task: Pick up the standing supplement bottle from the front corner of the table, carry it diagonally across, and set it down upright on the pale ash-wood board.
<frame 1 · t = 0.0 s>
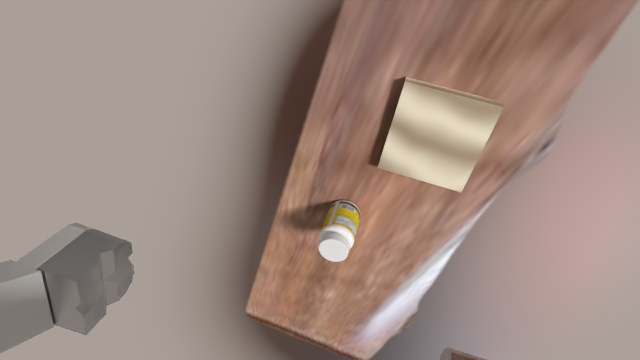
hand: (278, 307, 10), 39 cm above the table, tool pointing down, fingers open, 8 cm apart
ash board: (435, 134, 47), on the table
supplement bottle: (345, 211, 58), on the table
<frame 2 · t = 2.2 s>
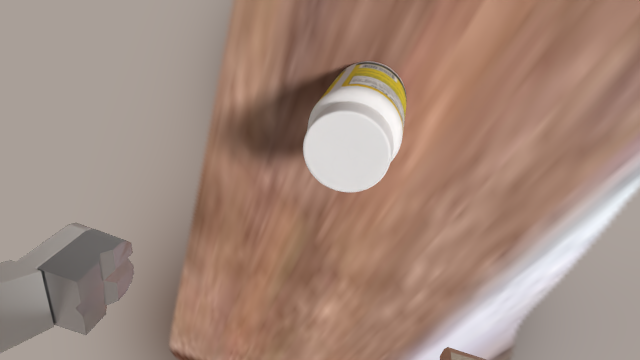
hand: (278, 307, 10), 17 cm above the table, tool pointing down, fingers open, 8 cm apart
supplement bottle: (368, 97, 24), on the table
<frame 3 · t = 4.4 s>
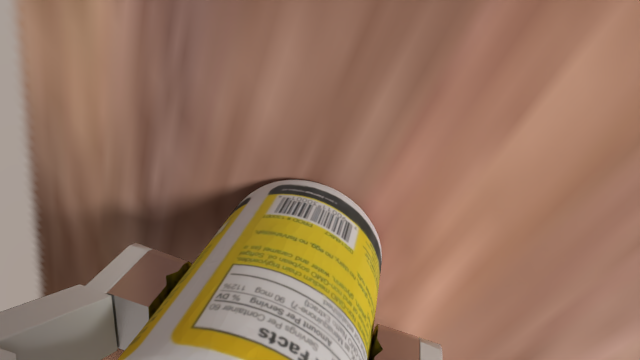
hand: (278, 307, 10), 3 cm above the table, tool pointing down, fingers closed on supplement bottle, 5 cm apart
supplement bottle: (308, 239, 12), on the table, touching gripper
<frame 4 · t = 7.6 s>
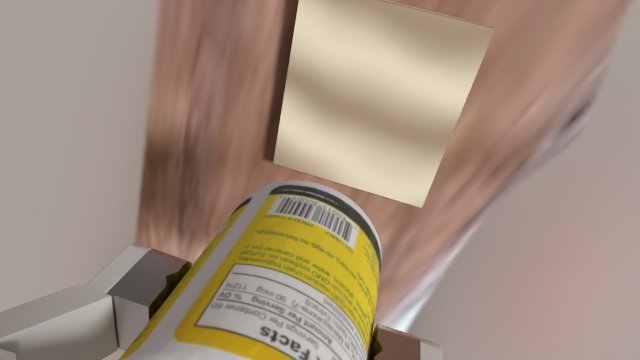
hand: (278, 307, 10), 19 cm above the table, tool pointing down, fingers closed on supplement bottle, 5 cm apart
ash board: (370, 99, 26), on the table
supplement bottle: (308, 239, 12), point 16 cm above the table, touching gripper
when the fingers open (6 cm above the table, at t = 10.7 s): supplement bottle drops 2 cm, resting on ash board.
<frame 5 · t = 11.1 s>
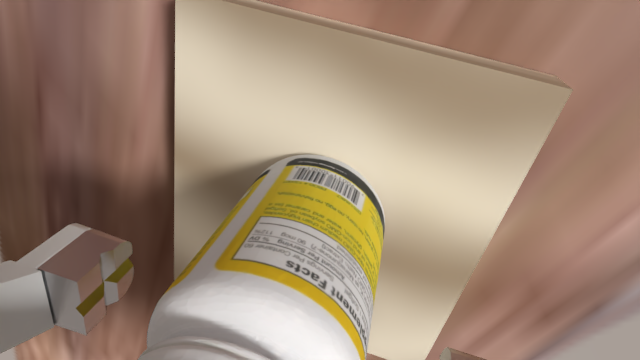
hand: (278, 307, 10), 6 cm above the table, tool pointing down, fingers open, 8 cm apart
ash board: (328, 193, 15), on the table
supplement bottle: (319, 210, 14), point 1 cm above the table, touching ash board
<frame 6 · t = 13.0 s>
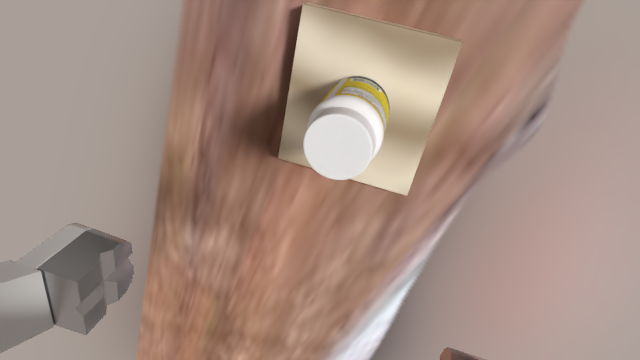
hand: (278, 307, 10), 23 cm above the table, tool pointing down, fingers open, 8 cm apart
ash board: (361, 102, 30), on the table
supplement bottle: (358, 106, 29), point 1 cm above the table, touching ash board
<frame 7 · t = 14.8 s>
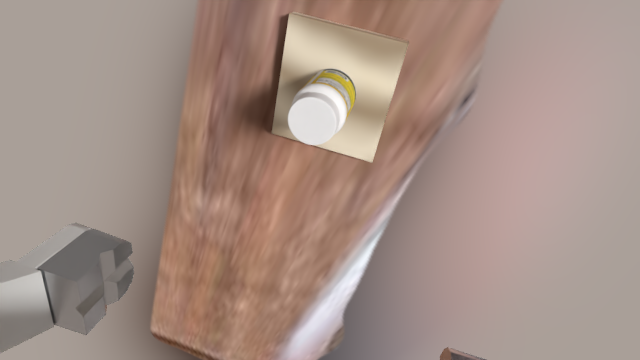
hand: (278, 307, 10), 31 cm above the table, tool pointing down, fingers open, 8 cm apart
ash board: (336, 88, 39), on the table
supplement bottle: (333, 91, 38), point 1 cm above the table, touching ash board
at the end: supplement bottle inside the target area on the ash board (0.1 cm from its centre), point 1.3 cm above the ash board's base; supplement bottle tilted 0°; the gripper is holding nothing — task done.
